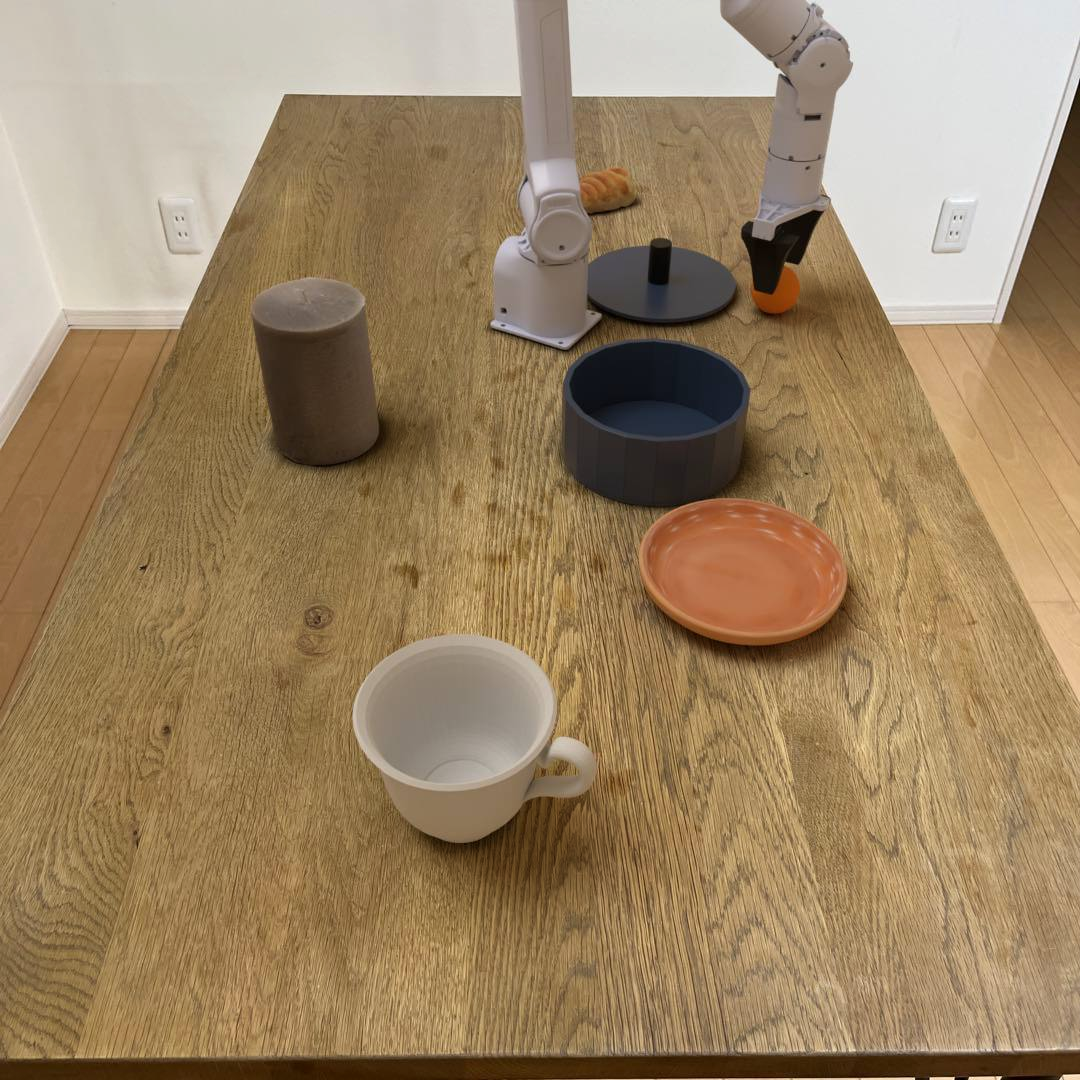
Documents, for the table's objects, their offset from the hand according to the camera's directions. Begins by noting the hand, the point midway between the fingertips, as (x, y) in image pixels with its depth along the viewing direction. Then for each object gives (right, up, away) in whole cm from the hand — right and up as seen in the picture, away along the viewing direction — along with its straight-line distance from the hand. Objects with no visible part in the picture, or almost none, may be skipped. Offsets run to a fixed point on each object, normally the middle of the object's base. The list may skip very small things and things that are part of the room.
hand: (777, 276), depth 118 cm
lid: (-12, +1, +6) cm, 14 cm away
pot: (-15, -20, -17) cm, 30 cm away
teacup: (-29, -46, -47) cm, 72 cm away
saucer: (-10, -32, -31) cm, 45 cm away
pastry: (-18, +15, +24) cm, 33 cm away
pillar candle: (-45, -18, -15) cm, 51 cm away
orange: (0, -1, +1) cm, 2 cm away
